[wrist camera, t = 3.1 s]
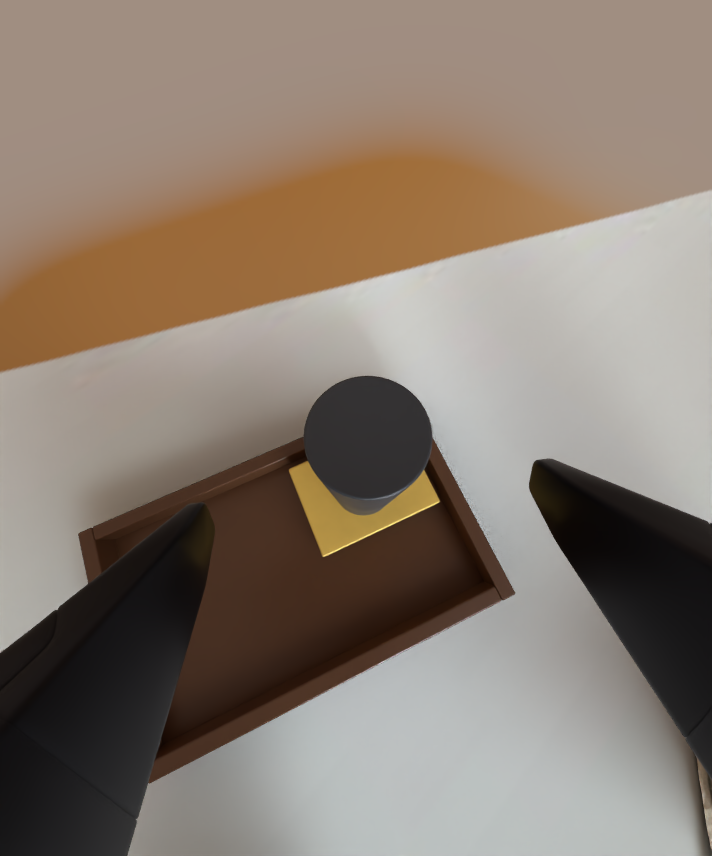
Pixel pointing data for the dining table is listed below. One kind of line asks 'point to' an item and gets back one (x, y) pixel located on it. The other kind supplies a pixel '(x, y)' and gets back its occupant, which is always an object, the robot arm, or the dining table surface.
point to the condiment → (706, 797)
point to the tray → (301, 596)
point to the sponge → (363, 461)
